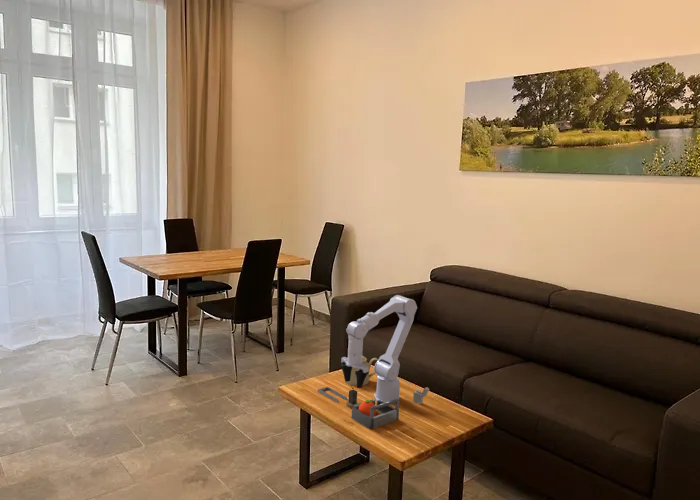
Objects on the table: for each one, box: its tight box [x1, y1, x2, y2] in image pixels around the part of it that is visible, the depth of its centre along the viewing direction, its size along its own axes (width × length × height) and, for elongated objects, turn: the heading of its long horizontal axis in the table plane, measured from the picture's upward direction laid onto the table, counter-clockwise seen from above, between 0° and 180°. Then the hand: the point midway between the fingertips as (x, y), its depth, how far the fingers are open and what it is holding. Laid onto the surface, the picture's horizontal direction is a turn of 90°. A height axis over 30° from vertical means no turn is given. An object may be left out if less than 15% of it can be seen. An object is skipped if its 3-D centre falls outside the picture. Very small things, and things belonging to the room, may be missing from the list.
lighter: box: [412, 386, 430, 405], centre depth 226 cm, size 7×2×8 cm, turn 42°
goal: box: [350, 398, 401, 430], centre depth 209 cm, size 11×15×8 cm
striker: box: [346, 389, 376, 409], centre depth 217 cm, size 10×10×6 cm
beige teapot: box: [345, 355, 379, 387], centre depth 247 cm, size 15×11×15 cm
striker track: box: [317, 386, 348, 403], centre depth 230 cm, size 13×5×1 cm, turn 40°
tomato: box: [358, 399, 377, 416], centre depth 210 cm, size 8×7×7 cm
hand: (353, 384), depth 219 cm, fingers open, 7 cm apart
